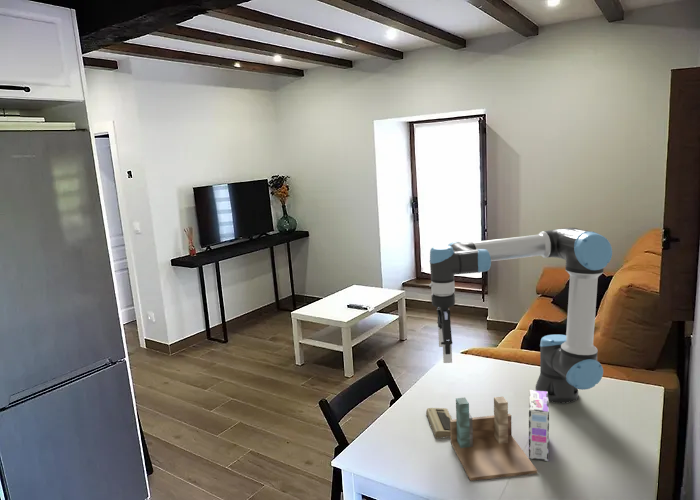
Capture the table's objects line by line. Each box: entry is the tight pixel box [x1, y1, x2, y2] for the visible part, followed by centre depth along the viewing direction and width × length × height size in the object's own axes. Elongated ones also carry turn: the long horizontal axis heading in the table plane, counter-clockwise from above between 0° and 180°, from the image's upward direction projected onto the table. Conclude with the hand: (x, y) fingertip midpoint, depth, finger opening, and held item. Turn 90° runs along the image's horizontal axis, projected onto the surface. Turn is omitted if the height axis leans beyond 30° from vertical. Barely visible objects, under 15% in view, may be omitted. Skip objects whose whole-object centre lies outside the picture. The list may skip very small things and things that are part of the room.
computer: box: [425, 407, 453, 439], centre depth 175 cm, size 16×8×3 cm, turn 2°
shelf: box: [450, 396, 538, 482], centre depth 153 cm, size 20×20×16 cm
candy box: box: [528, 389, 550, 462], centre depth 157 cm, size 14×6×16 cm, turn 160°
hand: (445, 354), depth 168 cm, fingers open, 13 cm apart
